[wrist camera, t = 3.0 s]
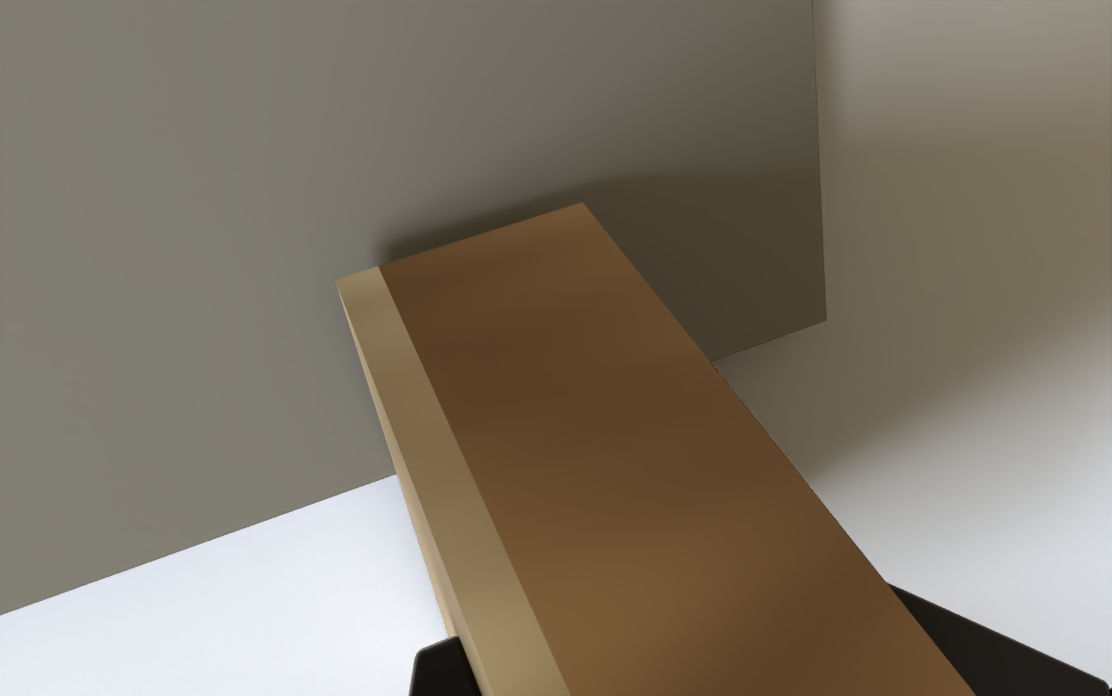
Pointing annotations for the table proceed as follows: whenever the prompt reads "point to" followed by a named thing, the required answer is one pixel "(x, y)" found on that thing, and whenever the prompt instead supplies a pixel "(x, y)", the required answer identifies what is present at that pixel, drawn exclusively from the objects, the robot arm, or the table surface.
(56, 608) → the table surface
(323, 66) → the mat
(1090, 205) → the table surface
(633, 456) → the slab
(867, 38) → the table surface
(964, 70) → the table surface
